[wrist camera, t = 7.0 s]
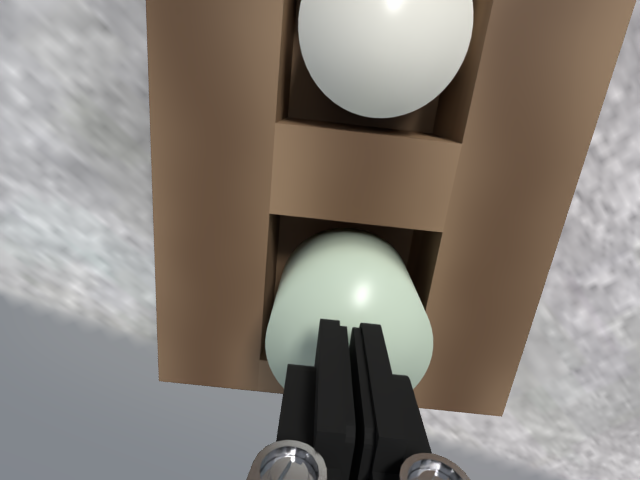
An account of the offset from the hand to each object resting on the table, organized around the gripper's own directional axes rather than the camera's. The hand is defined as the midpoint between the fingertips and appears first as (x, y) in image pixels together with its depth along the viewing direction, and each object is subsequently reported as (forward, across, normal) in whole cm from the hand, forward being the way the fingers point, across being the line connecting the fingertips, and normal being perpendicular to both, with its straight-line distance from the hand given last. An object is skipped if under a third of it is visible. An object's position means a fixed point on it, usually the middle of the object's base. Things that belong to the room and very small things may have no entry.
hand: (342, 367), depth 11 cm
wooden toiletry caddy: (+12, 0, -4) cm, 13 cm away
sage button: (+5, 0, 0) cm, 5 cm away
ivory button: (+8, 0, -9) cm, 12 cm away
